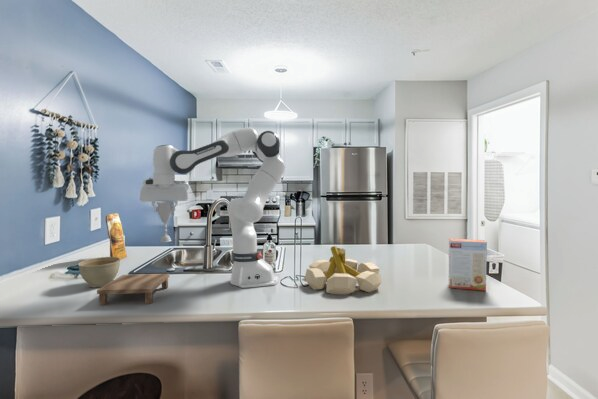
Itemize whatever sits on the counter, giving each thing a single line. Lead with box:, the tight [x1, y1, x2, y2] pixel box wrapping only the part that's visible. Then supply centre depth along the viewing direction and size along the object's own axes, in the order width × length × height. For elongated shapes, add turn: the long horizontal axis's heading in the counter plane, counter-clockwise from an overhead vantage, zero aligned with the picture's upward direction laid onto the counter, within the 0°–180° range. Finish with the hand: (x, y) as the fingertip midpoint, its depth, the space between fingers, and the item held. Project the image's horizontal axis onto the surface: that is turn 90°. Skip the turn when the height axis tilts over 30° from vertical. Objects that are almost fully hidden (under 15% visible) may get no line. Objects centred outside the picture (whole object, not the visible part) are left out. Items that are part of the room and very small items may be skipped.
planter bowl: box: [78, 256, 121, 288], centre depth 146 cm, size 16×16×11 cm
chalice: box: [156, 201, 174, 243], centre depth 146 cm, size 7×7×18 cm
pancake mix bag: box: [105, 212, 128, 261], centre depth 193 cm, size 7×19×28 cm, turn 3°
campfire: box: [304, 245, 382, 295], centre depth 146 cm, size 35×34×17 cm
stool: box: [96, 273, 170, 306], centre depth 131 cm, size 20×20×6 cm
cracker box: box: [448, 238, 488, 292], centre depth 138 cm, size 14×6×21 cm, turn 71°
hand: (165, 211), depth 146 cm, fingers closed on chalice, 6 cm apart
